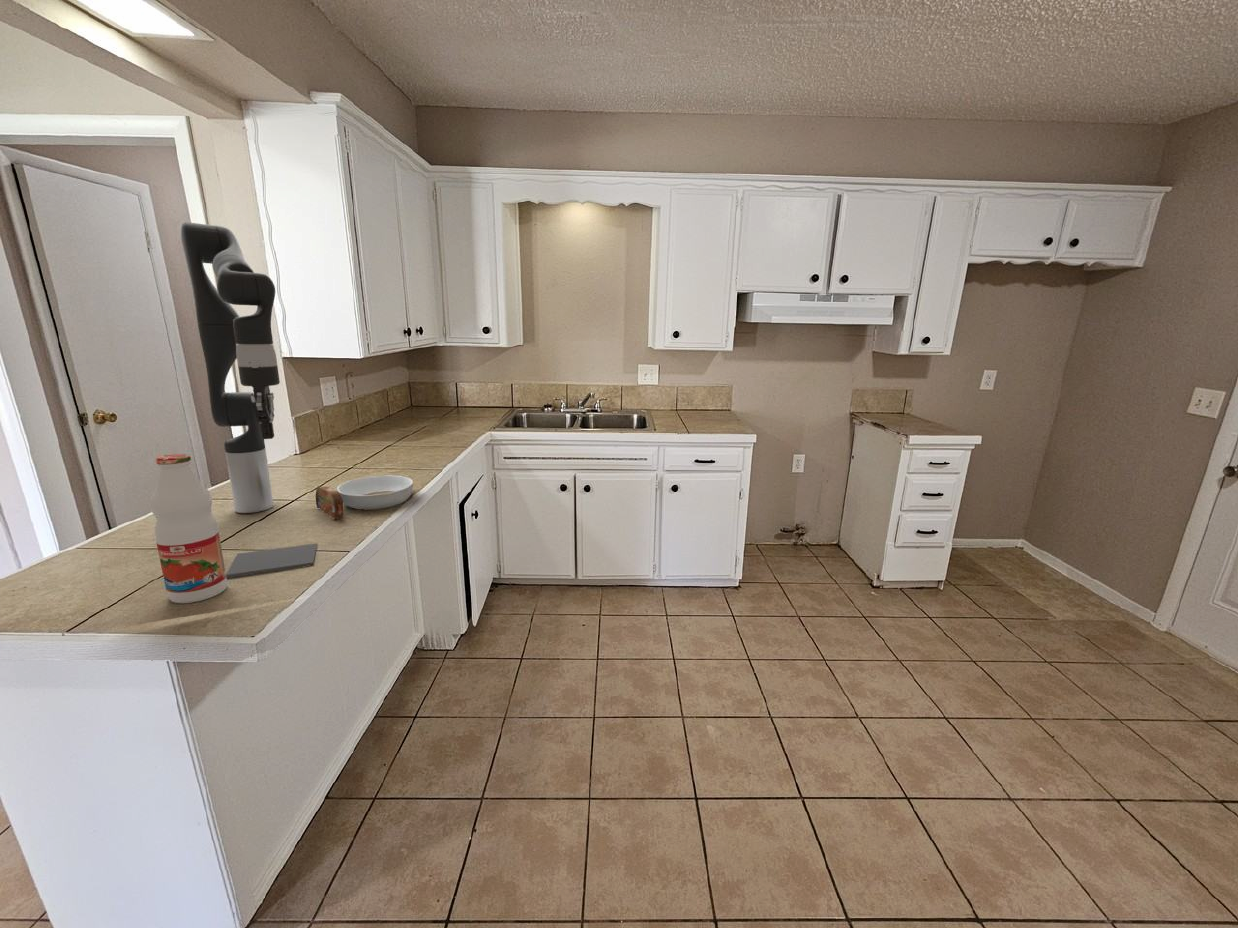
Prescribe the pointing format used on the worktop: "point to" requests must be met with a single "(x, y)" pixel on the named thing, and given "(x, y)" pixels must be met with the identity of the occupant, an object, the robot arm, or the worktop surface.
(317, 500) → the tin
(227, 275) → the robot arm
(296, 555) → the mat
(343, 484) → the serving bowl
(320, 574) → the worktop surface
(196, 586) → the fruit juice
